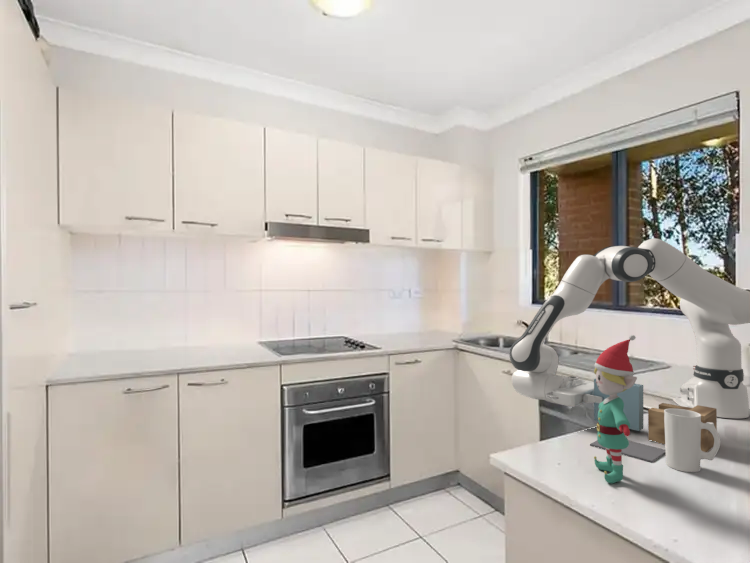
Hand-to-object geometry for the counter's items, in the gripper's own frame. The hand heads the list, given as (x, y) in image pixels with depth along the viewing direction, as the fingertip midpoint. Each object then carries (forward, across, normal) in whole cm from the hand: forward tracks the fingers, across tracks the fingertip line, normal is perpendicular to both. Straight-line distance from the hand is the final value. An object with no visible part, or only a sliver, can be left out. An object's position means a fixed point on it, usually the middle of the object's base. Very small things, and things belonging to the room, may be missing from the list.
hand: (606, 398), depth 128 cm
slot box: (+19, 0, +7) cm, 20 cm away
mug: (+25, -17, +8) cm, 31 cm away
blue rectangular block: (+3, 0, +7) cm, 7 cm away
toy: (+17, -34, +8) cm, 38 cm away
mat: (+12, -15, +7) cm, 20 cm away
